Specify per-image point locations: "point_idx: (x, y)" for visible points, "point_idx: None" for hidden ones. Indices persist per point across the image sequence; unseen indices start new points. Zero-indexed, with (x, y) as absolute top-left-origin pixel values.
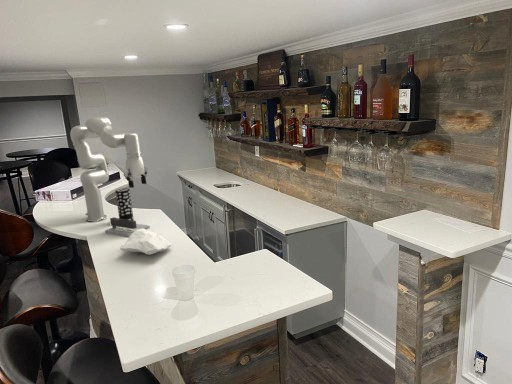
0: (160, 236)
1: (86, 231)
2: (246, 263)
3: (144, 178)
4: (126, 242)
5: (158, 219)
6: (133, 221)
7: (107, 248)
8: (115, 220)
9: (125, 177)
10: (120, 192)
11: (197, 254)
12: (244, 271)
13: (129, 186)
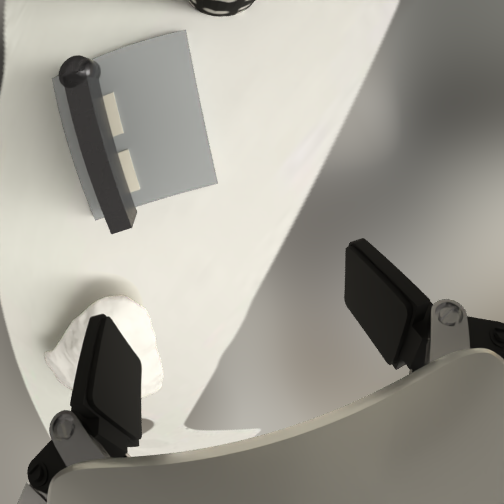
0: (143, 389)
1: (33, 5)
2: (214, 439)
3: (383, 351)
4: (58, 350)
5: (321, 104)
6: (119, 229)
7: (21, 262)
8: (71, 108)
9: (34, 480)
10: None
11: (185, 408)
12: (196, 445)
13: (93, 330)
